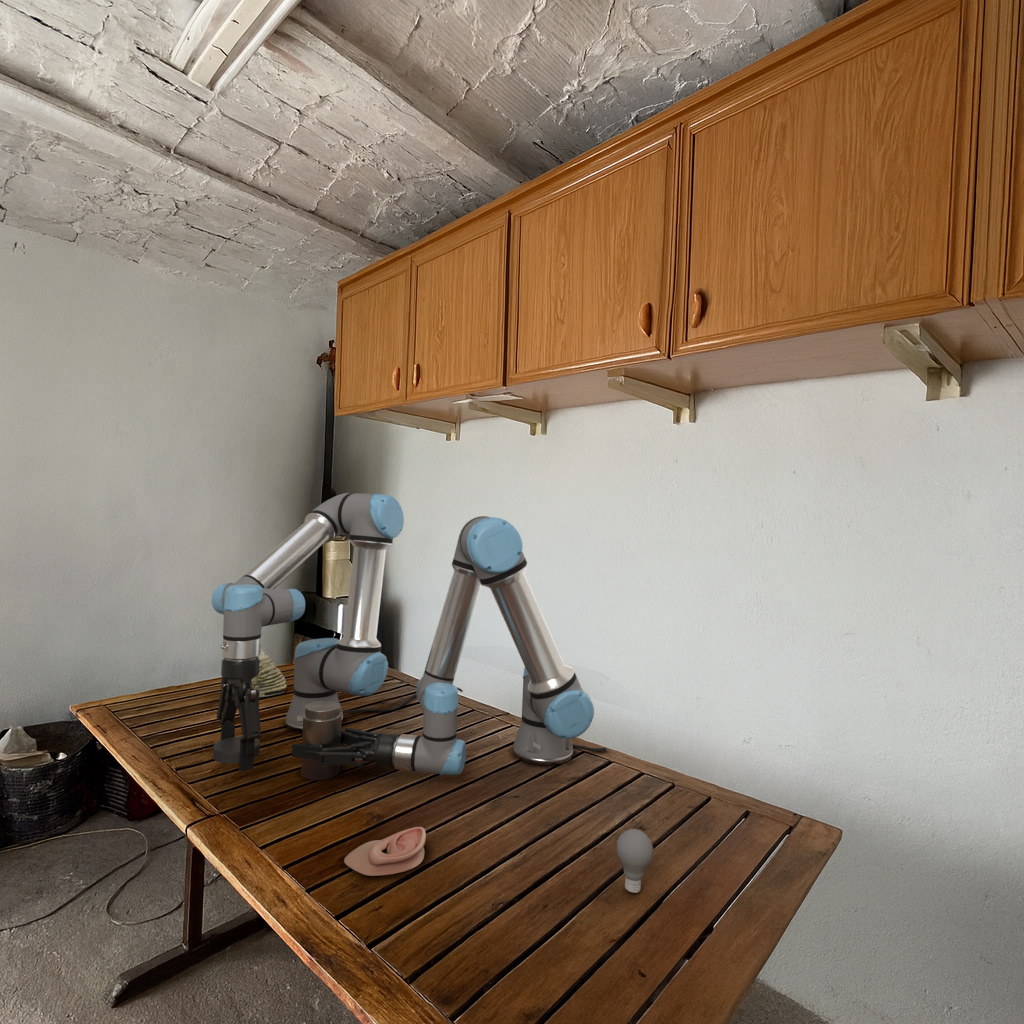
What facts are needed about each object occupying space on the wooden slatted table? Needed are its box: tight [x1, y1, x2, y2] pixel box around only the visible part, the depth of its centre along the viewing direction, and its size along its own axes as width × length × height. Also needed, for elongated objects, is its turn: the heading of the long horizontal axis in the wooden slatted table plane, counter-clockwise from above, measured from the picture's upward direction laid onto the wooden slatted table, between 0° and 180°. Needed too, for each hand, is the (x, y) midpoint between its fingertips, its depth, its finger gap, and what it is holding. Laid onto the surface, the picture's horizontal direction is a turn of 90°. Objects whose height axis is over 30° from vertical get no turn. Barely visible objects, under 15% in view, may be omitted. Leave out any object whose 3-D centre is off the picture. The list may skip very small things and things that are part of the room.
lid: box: [212, 735, 261, 764], centre depth 136 cm, size 9×9×2 cm
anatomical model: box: [343, 826, 427, 877], centre depth 112 cm, size 13×4×12 cm
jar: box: [300, 701, 343, 781], centre depth 145 cm, size 8×8×15 cm
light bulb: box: [615, 828, 654, 894], centre depth 106 cm, size 6×6×10 cm
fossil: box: [252, 648, 288, 698], centre depth 198 cm, size 9×18×15 cm, turn 132°
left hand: (236, 762), depth 136 cm, fingers closed on lid, 9 cm apart
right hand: (302, 742), depth 146 cm, fingers closed on jar, 8 cm apart
